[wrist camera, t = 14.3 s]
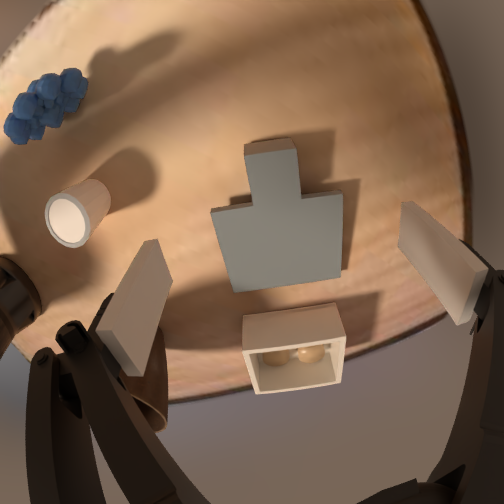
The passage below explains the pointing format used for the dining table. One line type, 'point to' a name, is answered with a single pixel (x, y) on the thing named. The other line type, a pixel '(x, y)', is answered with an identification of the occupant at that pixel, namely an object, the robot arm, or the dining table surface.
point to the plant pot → (152, 386)
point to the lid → (279, 225)
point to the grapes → (45, 105)
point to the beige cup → (77, 212)
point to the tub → (294, 348)
